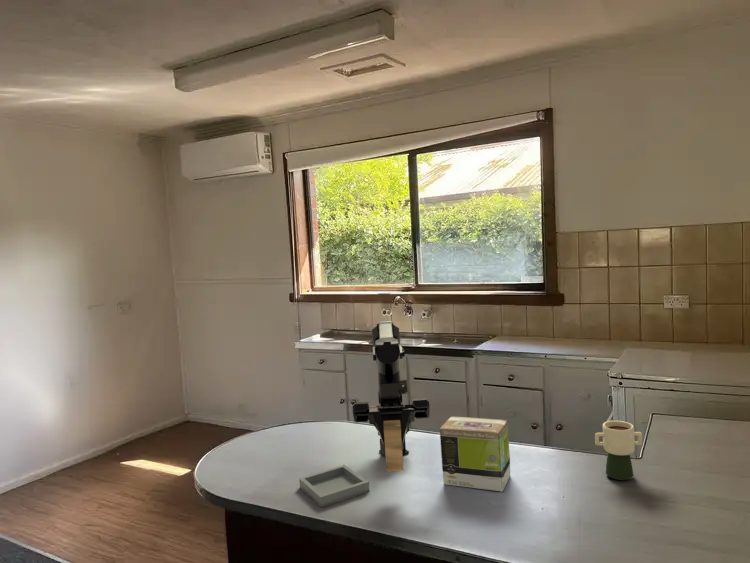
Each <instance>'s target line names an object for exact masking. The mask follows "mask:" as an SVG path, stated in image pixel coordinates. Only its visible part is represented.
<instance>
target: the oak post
mask: <svg viewBox="0 0 750 563" xmlns="http://www.w3.org/2000/svg"><path fill="white" fill-rule="evenodd" d="M384 440H385V455H386V456H385V455H384V456H385V464H386V472H398V471H399V472H401V471H404V461H403V460H404V458H403V457H404V455H402V440H401V425H400V420H390V421H384Z"/></svg>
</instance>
